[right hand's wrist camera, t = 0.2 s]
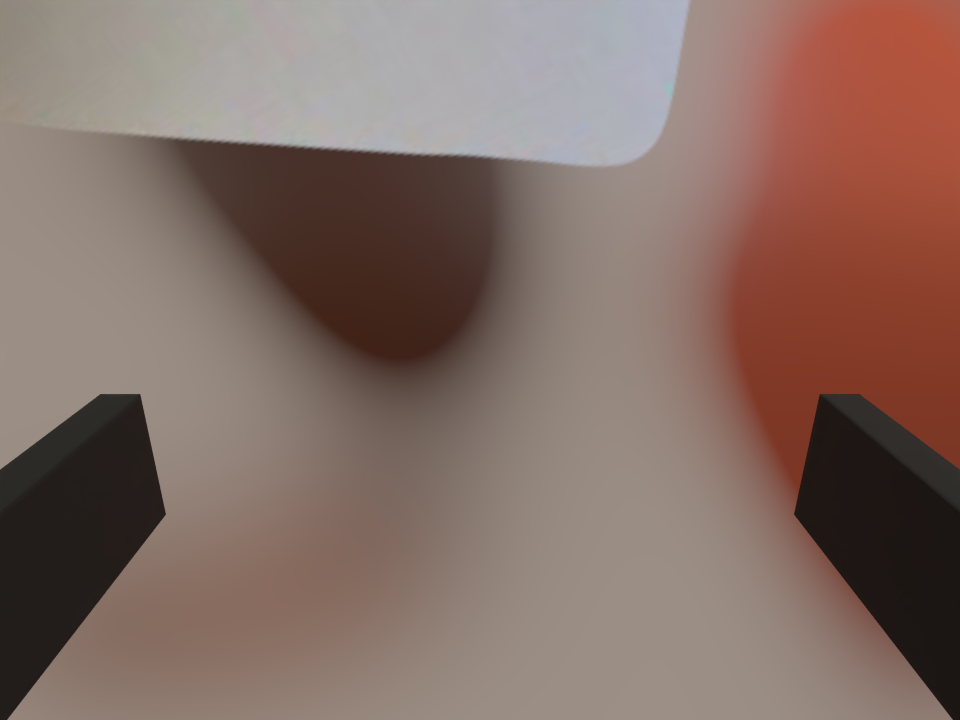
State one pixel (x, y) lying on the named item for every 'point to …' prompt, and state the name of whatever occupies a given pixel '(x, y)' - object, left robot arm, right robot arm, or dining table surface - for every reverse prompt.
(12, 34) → the dining table surface
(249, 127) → the dining table surface
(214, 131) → the dining table surface
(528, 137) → the dining table surface
